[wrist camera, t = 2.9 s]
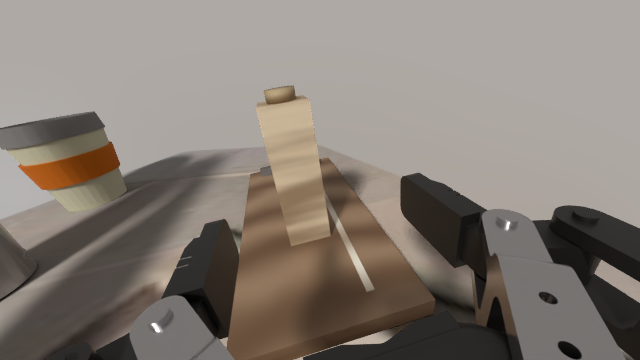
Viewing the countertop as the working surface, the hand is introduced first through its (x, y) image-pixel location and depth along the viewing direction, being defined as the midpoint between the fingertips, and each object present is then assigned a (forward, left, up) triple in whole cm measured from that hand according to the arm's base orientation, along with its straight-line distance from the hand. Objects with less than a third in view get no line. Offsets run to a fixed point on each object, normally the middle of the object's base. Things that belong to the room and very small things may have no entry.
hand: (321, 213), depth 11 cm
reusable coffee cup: (+8, +53, -11) cm, 54 cm away
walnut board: (+12, +10, -11) cm, 19 cm away
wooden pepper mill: (+9, +7, -9) cm, 15 cm away
